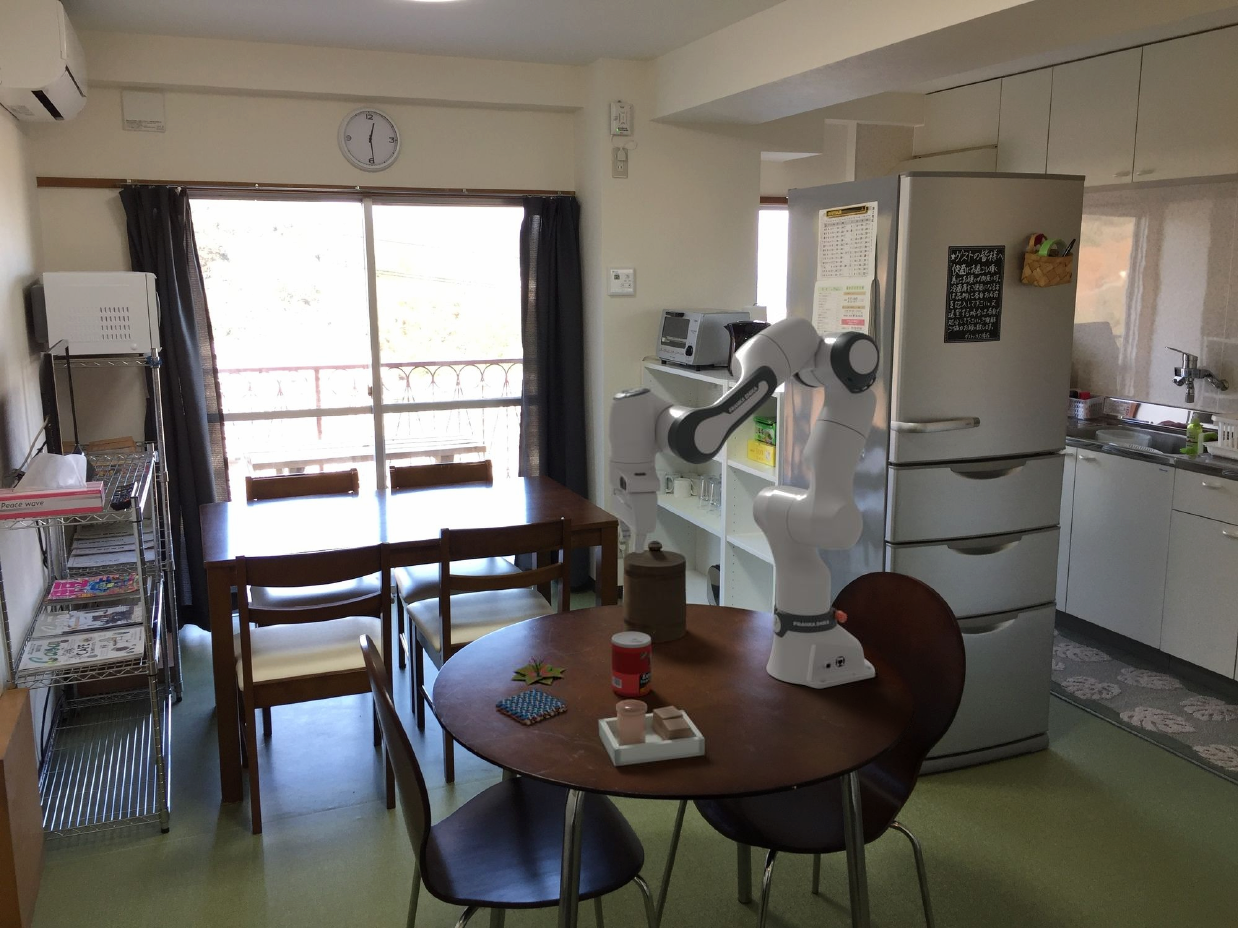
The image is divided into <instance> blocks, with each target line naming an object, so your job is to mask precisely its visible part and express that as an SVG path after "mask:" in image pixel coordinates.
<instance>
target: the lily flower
mask: <svg viewBox="0 0 1238 928" xmlns="http://www.w3.org/2000/svg"><path fill="white" fill-rule="evenodd" d="M533 655H534V656H533ZM533 655H530V656H531V658H530V660H532V661H533V662H534V664H532V662H531V661H530V660H528V663H527V664H526V665H525V666H523V667H521V668H518V669H516V670H514V671H512V672H513V673H514V672H516V673H517V672H518V674H515V675H514V676H513V677H512V680H525V682H526V685H527V686H529V685H531V684H532V683H533V682H535V681H537V682H540V683H544V684H548V685H551V684H552V681H553V677H559V678H565V676H564V675H562V674H561V672H563V671H564V670H566V668H562V667H561V668H560V667H552V665H551V664H548V661H546V660H548V659H549V658H548V656H549V654H547V655H546V656H545V657H544V658H543V659H541V658H542V655H543V654H541V655H540V659H539V660H538V661H539V662H538V661H537V656H536V654H535V653H534V654H533ZM534 657H535V658H534ZM544 661H545V662H544ZM540 673H541V674H543V676H540V675H541V674H540ZM533 674H536V675H537V677H536V676H535V675H533ZM543 678H545V680H544V679H543Z"/></svg>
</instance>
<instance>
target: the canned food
mask: <svg viewBox="0 0 1238 928" xmlns="http://www.w3.org/2000/svg"><path fill="white" fill-rule="evenodd" d="M611 687H612V691H613V692H614V693H615V694H617V695H619V696H622V697H627V698H628V697H629V698H635V697H637V698H638V697H643V696H645V695H648V693H649V692H650V690H651V687H652V642H651V637H650V636H649V635H647V634H644V633H640V632H623V631H621V632H618V633H615V634H613V635H612V637H611Z"/></svg>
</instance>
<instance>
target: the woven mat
mask: <svg viewBox="0 0 1238 928" xmlns="http://www.w3.org/2000/svg"><path fill="white" fill-rule="evenodd" d="M494 707H495V708H496V710H497V711H499V712H502V713H503V714H506V715H507V716H509V717H512V718H513V719H516V720H517V721H519V722H521V723H522V724H524V725H527V726H528V725H530V724H532V723H535V722H536V721H537V722H539V721H540V720H543V719H544V717H545V718H546V719H548V718H551V717H552V716H554V715H555V714H558V712H559V713H562V712H564V711H567V707H568V705H567V704H566V703H565V702H563V700H559V699H558V698H557V697H556V698H555V697H553V696H552V695H548V694H547V693H545V692H543V691H542V690H538V689H537V688H536V687H535V688H534V689H530V690H528V691H526V692H521V693H519V694H517V695H513V696H511V697H508V698H505V699H502V700H499V701H498V702H497V703H495V706H494Z"/></svg>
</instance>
